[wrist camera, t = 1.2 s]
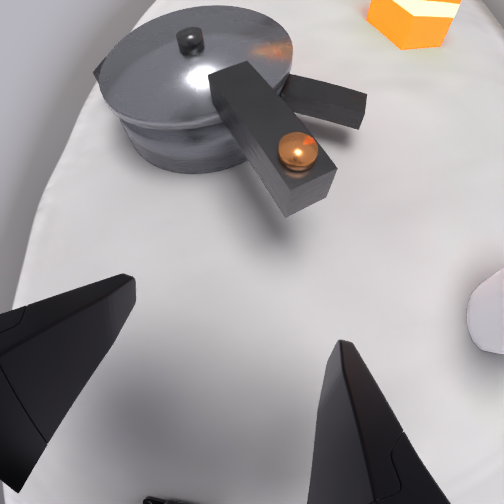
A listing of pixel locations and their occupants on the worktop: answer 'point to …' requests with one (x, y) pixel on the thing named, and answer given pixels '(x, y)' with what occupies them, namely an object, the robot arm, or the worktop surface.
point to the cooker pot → (220, 139)
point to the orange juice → (413, 21)
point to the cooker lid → (221, 92)
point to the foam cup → (488, 314)
